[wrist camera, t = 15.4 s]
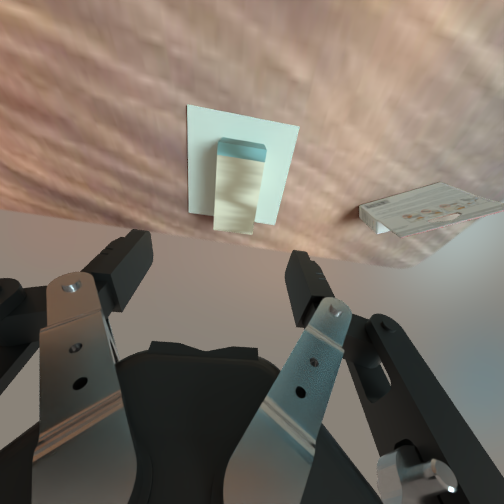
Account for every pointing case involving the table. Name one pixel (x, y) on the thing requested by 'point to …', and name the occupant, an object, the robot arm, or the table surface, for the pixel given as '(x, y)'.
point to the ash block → (238, 184)
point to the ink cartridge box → (425, 209)
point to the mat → (241, 128)
